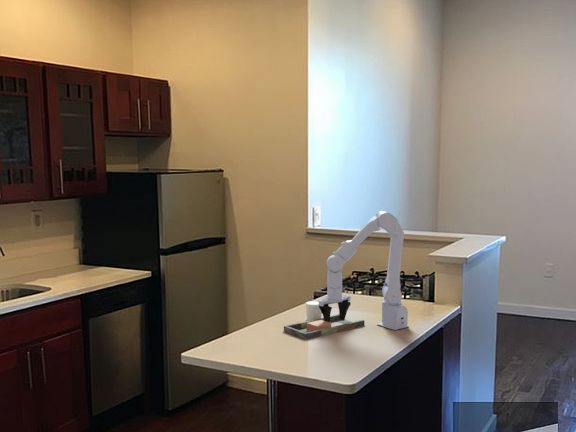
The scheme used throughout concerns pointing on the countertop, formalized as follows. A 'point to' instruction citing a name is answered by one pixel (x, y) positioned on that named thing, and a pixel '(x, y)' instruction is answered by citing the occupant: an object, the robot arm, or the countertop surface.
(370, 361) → the countertop surface
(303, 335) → the channel
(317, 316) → the shot glass
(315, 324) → the brick block
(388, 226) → the robot arm
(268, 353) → the countertop surface
